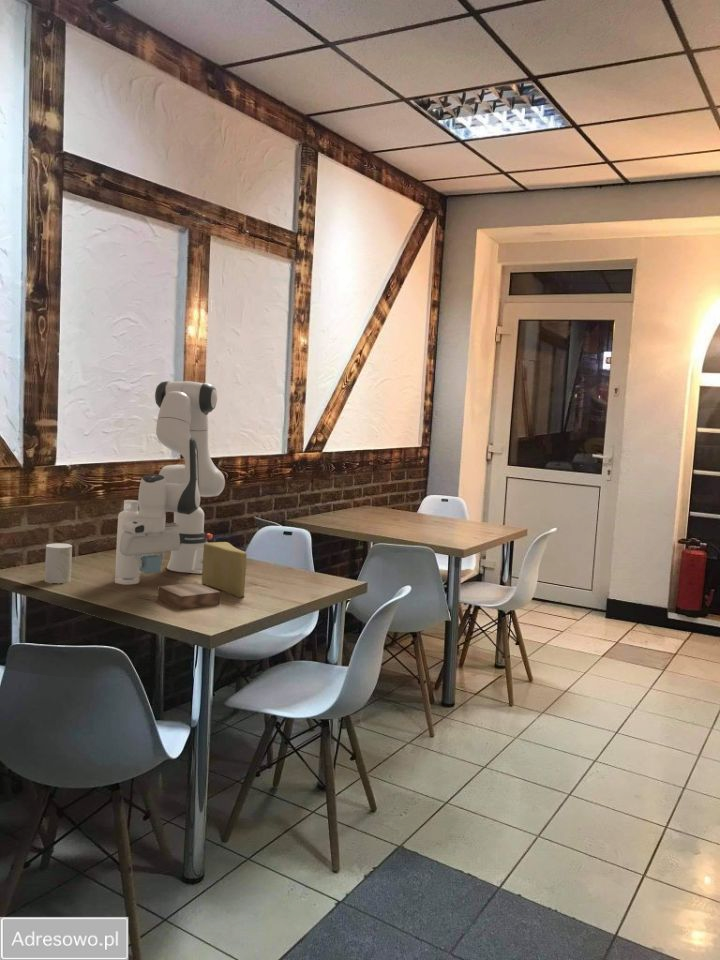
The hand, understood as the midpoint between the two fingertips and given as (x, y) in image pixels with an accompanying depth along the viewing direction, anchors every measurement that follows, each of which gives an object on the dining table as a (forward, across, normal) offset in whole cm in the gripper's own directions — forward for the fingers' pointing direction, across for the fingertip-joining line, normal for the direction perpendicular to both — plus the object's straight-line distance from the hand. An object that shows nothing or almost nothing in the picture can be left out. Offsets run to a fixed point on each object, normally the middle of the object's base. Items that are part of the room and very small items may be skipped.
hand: (149, 566), depth 260 cm
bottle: (+9, 0, -15) cm, 18 cm away
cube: (+2, 0, 0) cm, 2 cm away
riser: (+8, -5, +17) cm, 19 cm away
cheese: (+10, -25, +9) cm, 28 cm away
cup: (+9, +20, -26) cm, 33 cm away
